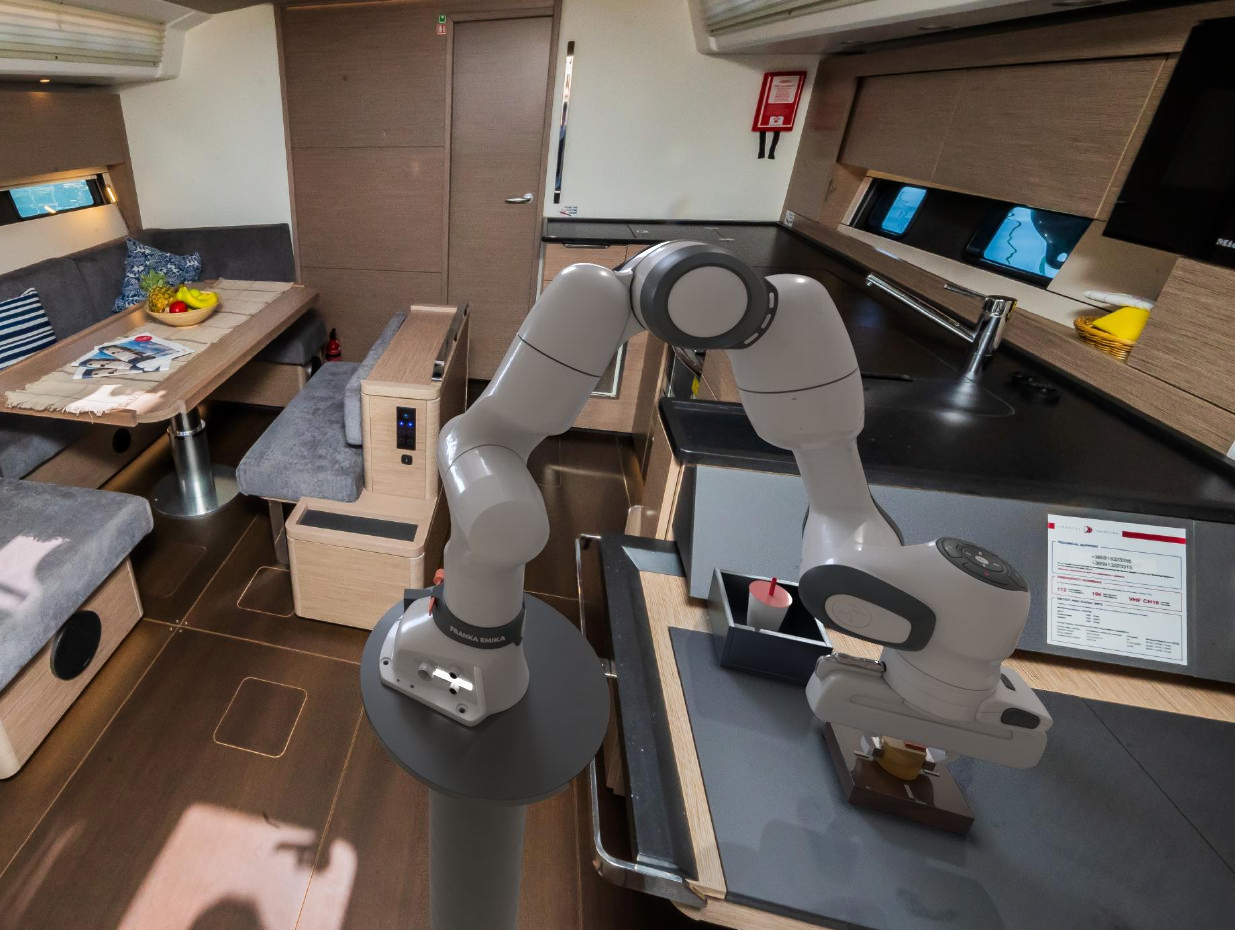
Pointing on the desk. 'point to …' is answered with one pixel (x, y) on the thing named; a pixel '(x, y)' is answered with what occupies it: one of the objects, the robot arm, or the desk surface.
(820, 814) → the desk surface
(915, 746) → the tap knob
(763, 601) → the cup
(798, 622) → the dark open box
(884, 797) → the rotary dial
